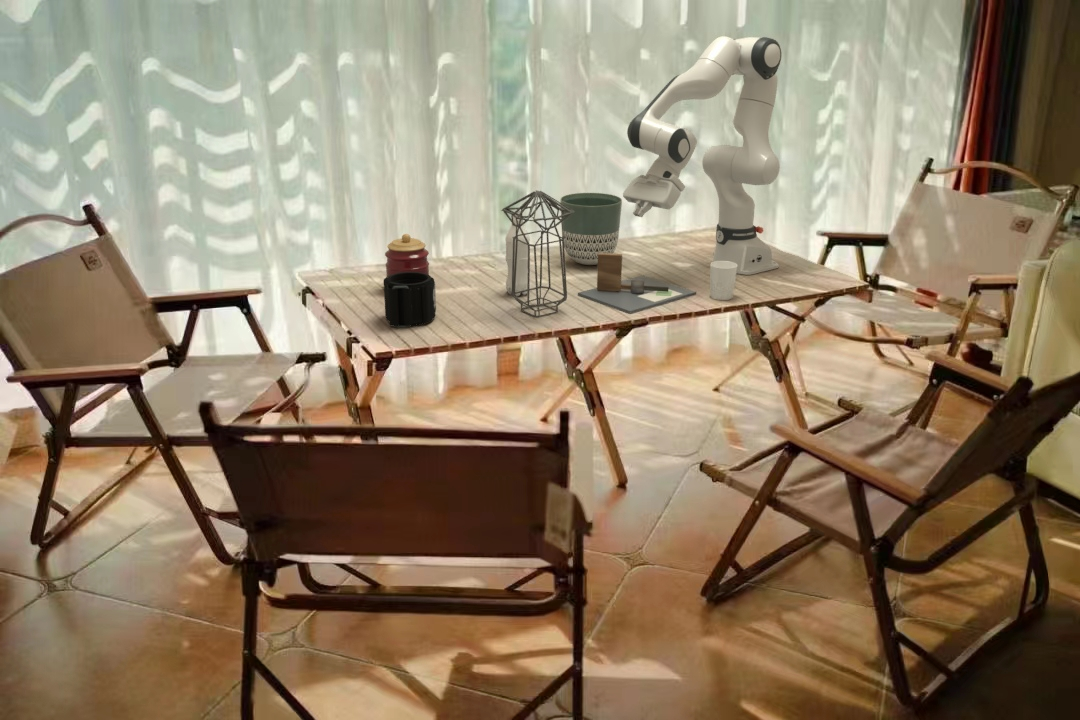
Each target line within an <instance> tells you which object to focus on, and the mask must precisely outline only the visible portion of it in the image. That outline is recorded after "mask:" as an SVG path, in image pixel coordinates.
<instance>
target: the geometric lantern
mask: <svg viewBox="0 0 1080 720" xmlns="http://www.w3.org/2000/svg"><path fill="white" fill-rule="evenodd" d="M524 200H526V201H524ZM523 201H524V202H523ZM521 202H523V203H522V204H521V206H518V207H514V206H515V205H517V204H519V203H521ZM531 202H532V204H531ZM543 203H544V205H545V206H546V209H547V210H548V211H549V213H550V215H551V217H547V218H546V214H545V210H544V205H543ZM530 204H531V205H530ZM561 204H562V203H561V201H559V200H557V199H556V198H554V197H552V196H550V195H549V194H547V193H545V192H544V191H542V190H537V189H536V190H535V191H532V192H530V193H529V194H526V195H524V196H523V197H521V198H519V199H517V200H516V201H514V202H512V203H511V204H509V205H507V206H505V207H503V208H502V209H501V210H500V211H501V212H503V213H504V215H505V216H506V217H507V218H508V221H510V222H511V224H512V225H514V226H516V236H515V237H512V238H513V261H512V294H510V296H511V298H513V299H514V300H515V301H516V302H517V303H518V304H520V311H521V312H523V313H526V314H528V316H529V315H530V316H532V317H535V318H540V317H544V316H548V315H553V314H557V313H559V309H558V308H559V306H560V305H561V304H562V303H564V302H566V301H567V300H568V299H567V298H568V291H567V290H568V287H567V274H566V273H567V271H566V270H567V268H566V256H565V254H566V253H565V252H566V250H565V248H564V234H563V223H562V221H564V220H565V219H566V218H567V217H569V216H570V215H571V214H572V213H574V211H573V210H572V209H570V208H569V207H567V206H565V205H564V204H562V205H563V206H562V205H561ZM529 205H530V206H529ZM564 206H565V207H566V208H565V207H564ZM539 208H541V213H542V217H540V218H536V212H537V211H538V209H539ZM562 208H563V209H562ZM567 208H568V209H570V210H568V209H567ZM528 209H529V211H528V215H523V216H522V213H523V214H524V211H525V210H528ZM533 209H534V210H533ZM554 209H556V210H557V213H556V212H555V210H554ZM513 211H515V212H513ZM518 211H521V212H520V214H517V212H518ZM564 211H565V212H569V213H567V214H564ZM561 212H562V215H561V214H560V215H559V213H561ZM516 215H517V216H516ZM513 216H514V217H515V218H516V223H517V225H516V224H515V223H514V222H513ZM561 217H562V219H561ZM530 218H531V219H530ZM517 219H520V221H519V224H518V221H517ZM521 220H523V223H522V224H520V223H521ZM551 220H552V221H551ZM556 220H558V222H557V223H556ZM539 221H544V225H542V224H541V223H539ZM547 221H551V223H550V224H549V226H548V227H547ZM527 222H533V223H535V224H536V225H537V226H538V227H539V229H540V230H536V231H531V232H528V233H525V234H524V233H523V231H522V229H521V226H522V225H523V224H524V225H525V224H526V223H527ZM561 223H562V226H561V235H562V234H563V237H562V236H560V233H559V231H558V228H557V226H559V225H560V224H561ZM517 227H518V228H517ZM519 229H520V231H521V233H522V234H520V235H518V231H519ZM550 229H554V230H555V233H556V234H555V233H553V232H551V231H550ZM536 233H540V236H539V238H538V239H537V241H536V242H535V243H534V244H531V243H530V241H529V242H528V240H527V238H526V236H525V235H527V234H529V235H531V234H536ZM544 234H546V242H544V241H543V240H544V239H543V238H544V237H543V236H544ZM521 235H523V236H524V238H525V240H526V242H527V243H525V242H523V241H521V240H519V239H518V236H521ZM549 235H552V236H555V237H557V238H558V240H554V241H550V240H549ZM515 239H516V248H515ZM518 241H520V242H522V243H524V244H526V245H528V271H527V273H528V288H527V289H526V290H522V291H518V292H515V284H516V265H517V246H518ZM539 241H540V243H539ZM557 242H558V245H559V255H560V265H561V266H560V268H561V279H562V292H560V291H559V290H557V289H555V288H553V287H552V286H551V284H552V283H551V264H550V263H551V262H550V244H553V243H557ZM543 245H546V253H547V274H548V275H547V277H548V286H546V285H545V286H544V285H543V284H542V281H543V278H542V277H543V247H544V246H543ZM536 246H537V247H538V246H540V253H539V254H540V260H539V261H540V263H539V264H540V265H539V282H538V267H537V249H536V248H537V247H536ZM531 247H533V255H534V256H533V258H534V259H533V260H534V274H535V275H534V277H535V287H532V288H530V287H529V283H530V284H531V282H530V279H531V278H530V271H531V270H530V269H531V261H530V260H531V254H530V253H531ZM514 256H515V267H514ZM538 283H539V284H538ZM538 285H539V286H538ZM542 285H543V286H542ZM542 289H547V290H546V292H545V293H544V295H543V297H542ZM534 290H535V293H536V294H535V296H536V298H533V299H530V292H531V291H534ZM550 290H551V291H553V292H555V293H557V294H559V295H561V296H563V297H562V298H561V299H557V300H554V301H553V300H550V299H548V298H546V295H547V294H548V292H549V291H550ZM526 291H527V294H526V295H527V301H526V300H525V301H523V300H522V299H520V298H519V296H516V295H515V294H517V293H520V294H522V292H526ZM541 300H542V303H541ZM533 301H536V304H530V303H531V302H533ZM545 301H547V302H545ZM551 304H554V305H552V306H549V305H551ZM542 306H544V307H545V308H540V307H542ZM535 307H537V309H535ZM525 309H529V310H532V311H534V314H532V313H531V312H528V311H525ZM548 309H551V310H554V312H553V311H552V312H548V313H545V314H541V315H540V311H543V310H544V311H545V310H548ZM537 312H538V313H537ZM537 314H538V315H537Z"/></svg>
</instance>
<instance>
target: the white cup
mask: <svg viewBox="0 0 1080 720" xmlns="http://www.w3.org/2000/svg"><path fill="white" fill-rule="evenodd" d="M711 262H712V261H711ZM737 274H738V273H737V264H736V263H733V262H729V261H715V262H712V263H710V265H709V288H710V289H709V290H710V291H709V292H710V293H709V297H710V298H711V299H715V300H716V301H717V300H719V301H729V300H732V299H733V297H734V290H735V287H736V286H735V285H736V280H737Z"/></svg>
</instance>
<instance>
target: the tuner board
mask: <svg viewBox="0 0 1080 720" xmlns="http://www.w3.org/2000/svg"><path fill="white" fill-rule="evenodd" d="M633 279H641V280H644V286H660V287H669V288H668V292H665V291H648V290H644V292H643V293H632V292H631V290H624V289H621V291H605V290H597V287H595V288H590V289H587V290H584V291H579V292H577V296H578V297H582V298H585V299H587V300H590V301H594V302H596V303H598V304H602V305H603V306H604V305H605V306H608V307H610V308H612V309H616V310H619V311H621V312H623V313H627V314H630V315H631V314H634V313H637V312H640V311H641V312H642V311H645V310H648V309H651V308H655V307H658V306H662V305H665V304H668V303H671V302H675V301H679V300H682V299H686V298H689V297H692V296H695V295H697V291H694V290H691V289H689V288H686V287H682V286H679V285H675V284H672V283H669V282H666V281H663V280H660V279H655V278H652V277H651V276H647V275H644V274H643V275H640V276H636V277H632V278H629V279H625V280H621V284H631V280H633Z"/></svg>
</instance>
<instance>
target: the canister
mask: <svg viewBox="0 0 1080 720" xmlns="http://www.w3.org/2000/svg"><path fill="white" fill-rule="evenodd" d="M425 248H426V243H425V242H422V240H420V239H418V238H414V237H413V238H411V236H410V234H408V233H404V234H403V235H402V236H401V238H396V239H394V240H392V241H391V242H390V243H388V244H387V249H388V250H386V252H384V256H385V258H386V263H385V269H386V272H385V273H386V277H388V276H390V275H392V274H396V273H401V272H421V273H425V274H428V275H430V272H429V271H430V268H429V267H430V266H429V265H430V262H429V260H428V256H429V255H430V254H429V250H427V249H425Z"/></svg>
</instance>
